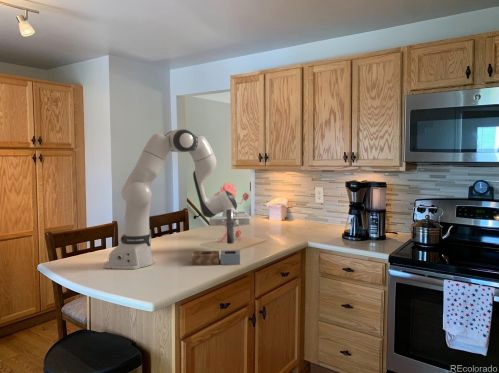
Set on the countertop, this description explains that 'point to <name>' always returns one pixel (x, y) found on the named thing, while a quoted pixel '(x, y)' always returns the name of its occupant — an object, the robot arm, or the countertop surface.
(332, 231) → the countertop surface
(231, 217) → the steel axle
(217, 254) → the wooden square hole block
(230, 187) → the figurine
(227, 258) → the socket block
